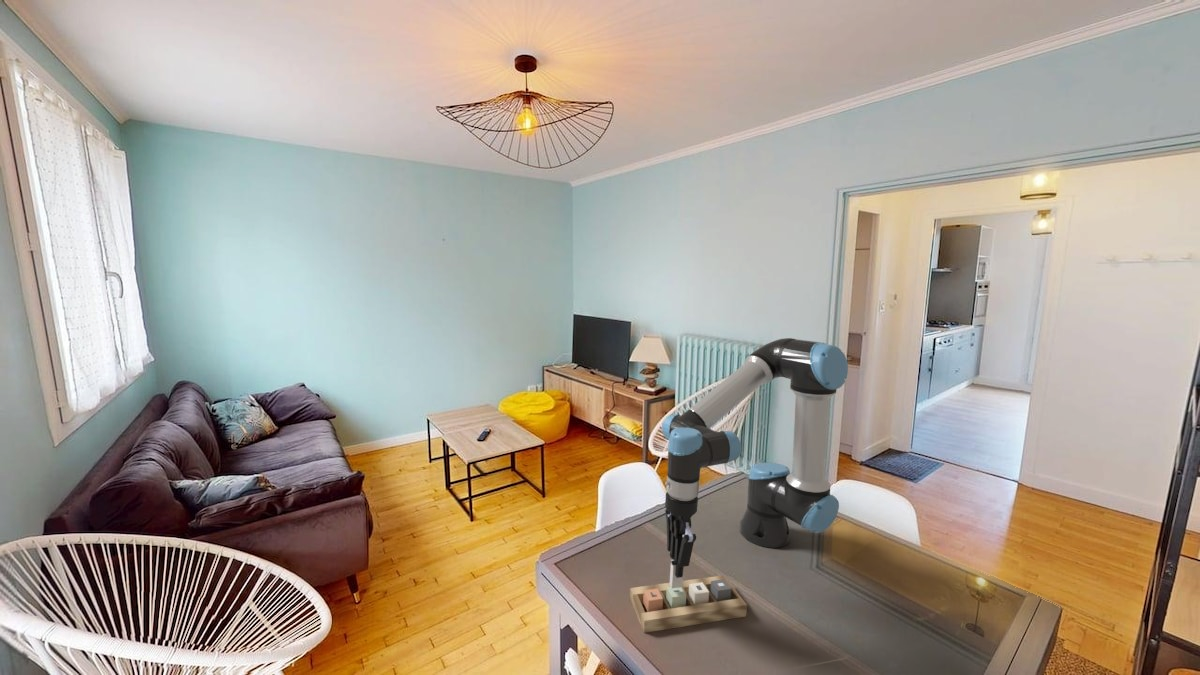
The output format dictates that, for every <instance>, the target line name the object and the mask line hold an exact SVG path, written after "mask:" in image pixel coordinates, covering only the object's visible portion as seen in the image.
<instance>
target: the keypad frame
mask: <svg viewBox="0 0 1200 675" xmlns="http://www.w3.org/2000/svg"><path fill="white" fill-rule="evenodd" d="M722 579H724V580H725V581H726V582H727V584H728V585H729V586H730V588H731V600H724V601H718V602H717V601H716V600H715V598H714V597H713V595H712V594H711V592H710V590H711V581H715V580H722ZM700 582H703V584H704V585H705V587H706V588H707V590H708V591H709V601H708V603H705V604H698V605H694V604H693V602H692V601H691V599H690V597H689V584H693V583H700ZM667 587H671V586H670V582H664V583H658V584H657V583H655V584H651V585H643V586H642V585H641V586H637V587H630V588H629V589H630V590H629V601H630V603H631V606H632V607H633V609H634V612H635V615H636V616H637V619H638V622H639V624H640V626H641V630H642V631H643V633H644V634H645V633H651V632H657V631H663V630H668V629H675V628H682V627H688V626H694V625H699V624H707V623H712V622H721V621H724V620H731V619H735V618H736V619H737V618H743V617H747V608H748V604H747V603H746V602H745V600H744V599H743V598H742V596H741V595H740V594H739V592H738V591H737V590H736V589H735V588H734V586H733V585H732V584H731V582H730V580H728V578H727V577H726V576H725V575H724V574H723V575H722V574H721V575H716V576H715V575H714V576H709V577H703V578H702V577H701V578H694V579H687V580H683V584H682V589H683V591H684V592H685V594H686V606H685V607H678V608H672V609H671V607H670V605H669V604H668V602H667V600H666V592H667ZM657 588H658V590H659V592H660V594H661V596H662V598H663V608H662V610H659V611H652V612H647V611H645V608H644V607H643V605H644V603H643V595H644V590H650V589H657Z"/></svg>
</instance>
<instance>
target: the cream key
mask: <svg viewBox="0 0 1200 675" xmlns="http://www.w3.org/2000/svg"><path fill="white" fill-rule="evenodd" d="M689 598H690V599H691V601H692V603H693V604H694V605H698V604H705V603H708V601H709V591H708V590H707V588H706V587H705V585H704V584H703V582H700V583H693V584H689Z"/></svg>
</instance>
